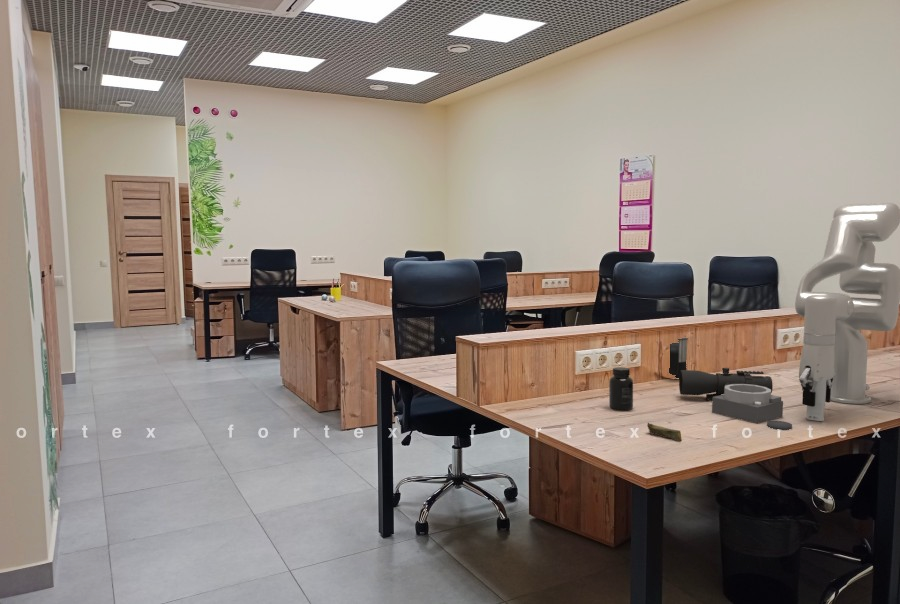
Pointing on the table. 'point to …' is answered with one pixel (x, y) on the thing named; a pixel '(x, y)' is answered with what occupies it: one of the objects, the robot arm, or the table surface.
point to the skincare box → (818, 401)
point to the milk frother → (678, 357)
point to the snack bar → (665, 432)
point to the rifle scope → (717, 381)
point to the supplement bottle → (621, 390)
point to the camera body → (748, 403)
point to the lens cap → (779, 425)
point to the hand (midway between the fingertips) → (816, 403)
